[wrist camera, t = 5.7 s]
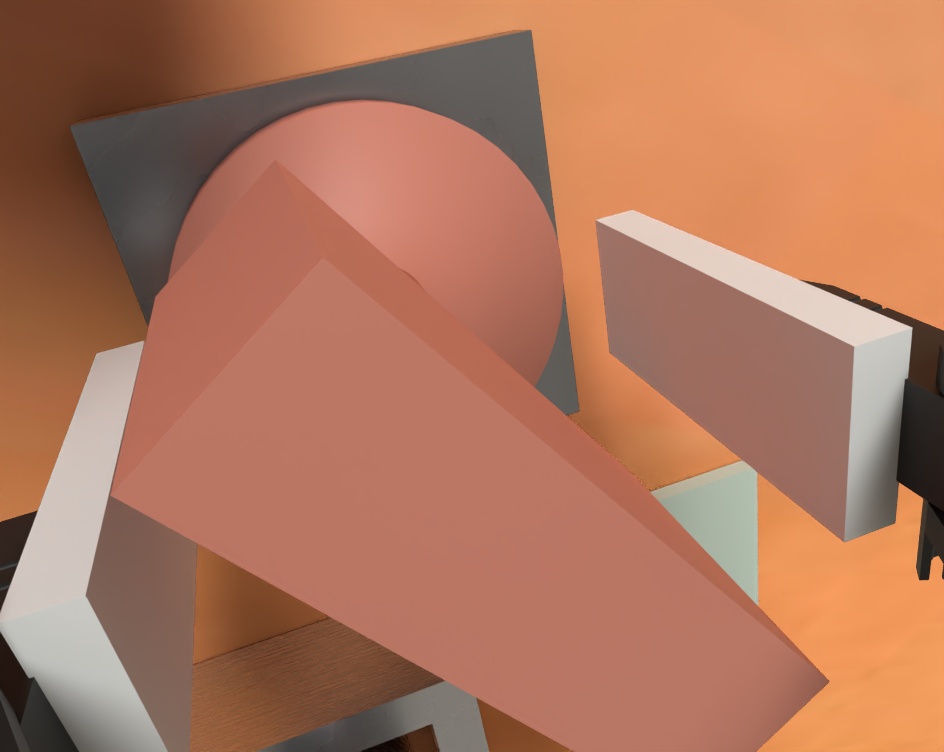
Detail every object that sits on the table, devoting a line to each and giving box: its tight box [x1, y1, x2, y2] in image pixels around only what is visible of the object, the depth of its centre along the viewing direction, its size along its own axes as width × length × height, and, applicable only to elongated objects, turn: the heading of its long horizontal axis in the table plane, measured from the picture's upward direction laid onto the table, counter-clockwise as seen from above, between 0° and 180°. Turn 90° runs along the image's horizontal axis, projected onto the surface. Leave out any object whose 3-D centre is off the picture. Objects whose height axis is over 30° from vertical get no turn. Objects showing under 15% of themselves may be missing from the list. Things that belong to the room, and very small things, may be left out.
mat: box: [650, 460, 758, 605], centre depth 24 cm, size 7×7×1 cm
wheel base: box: [69, 30, 579, 415], centre depth 17 cm, size 9×9×1 cm
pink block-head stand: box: [111, 100, 830, 752], centre depth 12 cm, size 8×8×10 cm
